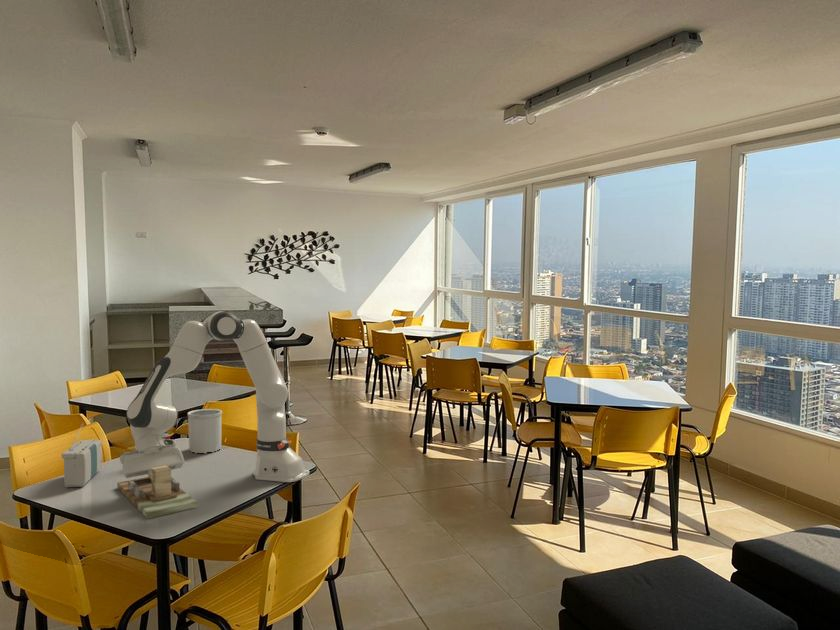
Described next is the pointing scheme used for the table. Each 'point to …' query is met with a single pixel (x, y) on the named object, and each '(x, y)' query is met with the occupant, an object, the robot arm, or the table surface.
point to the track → (137, 496)
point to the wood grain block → (161, 484)
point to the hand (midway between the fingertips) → (158, 482)
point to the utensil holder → (204, 430)
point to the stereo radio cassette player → (82, 462)
